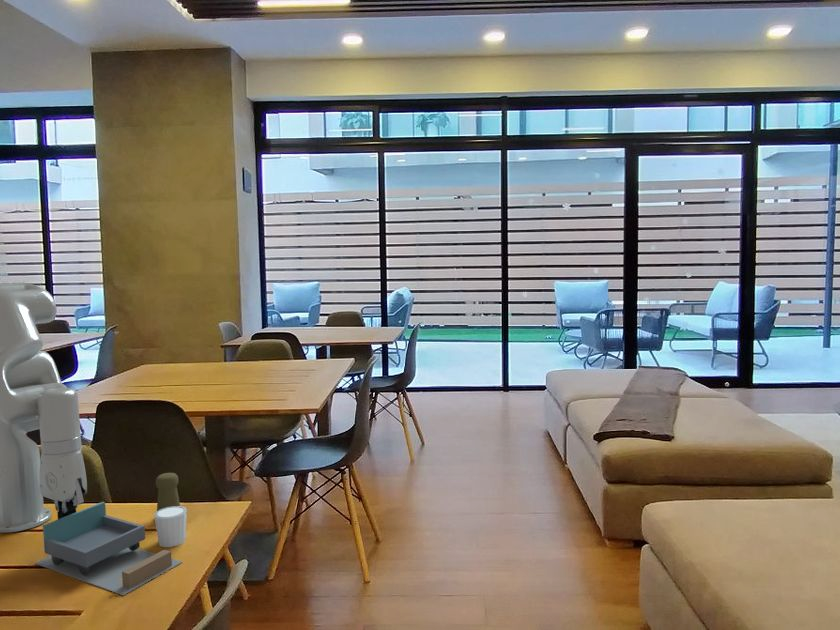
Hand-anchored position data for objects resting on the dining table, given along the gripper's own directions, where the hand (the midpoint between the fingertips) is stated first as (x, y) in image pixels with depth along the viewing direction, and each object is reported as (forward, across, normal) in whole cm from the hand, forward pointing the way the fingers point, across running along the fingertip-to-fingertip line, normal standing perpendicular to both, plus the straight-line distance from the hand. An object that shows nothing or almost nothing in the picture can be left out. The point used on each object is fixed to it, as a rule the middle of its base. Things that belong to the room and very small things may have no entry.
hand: (68, 527), depth 135 cm
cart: (+6, +9, 0) cm, 11 cm away
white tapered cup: (+6, +17, +13) cm, 22 cm away
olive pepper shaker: (+6, +6, +22) cm, 23 cm away
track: (+6, +13, 0) cm, 14 cm away
